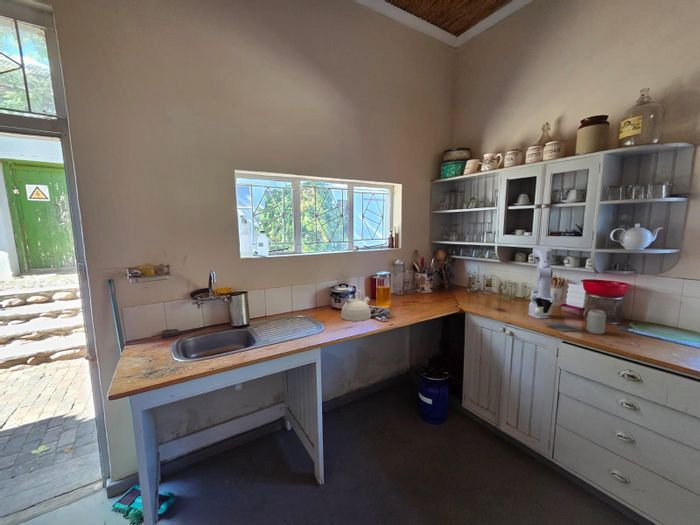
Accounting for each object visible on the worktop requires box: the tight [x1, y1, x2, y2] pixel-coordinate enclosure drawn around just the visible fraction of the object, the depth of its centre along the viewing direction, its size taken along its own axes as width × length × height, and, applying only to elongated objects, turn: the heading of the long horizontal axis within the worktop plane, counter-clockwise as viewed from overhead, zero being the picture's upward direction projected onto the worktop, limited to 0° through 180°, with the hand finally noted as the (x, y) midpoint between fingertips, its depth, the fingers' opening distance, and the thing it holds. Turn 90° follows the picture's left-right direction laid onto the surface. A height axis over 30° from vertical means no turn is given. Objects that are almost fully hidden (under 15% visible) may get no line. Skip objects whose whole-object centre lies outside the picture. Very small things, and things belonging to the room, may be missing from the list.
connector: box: [535, 307, 554, 316], centre depth 163 cm, size 9×3×4 cm, turn 94°
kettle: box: [340, 289, 372, 322], centre depth 189 cm, size 20×21×18 cm
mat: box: [543, 321, 581, 333], centre depth 162 cm, size 14×10×1 cm
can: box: [586, 309, 607, 335], centre depth 152 cm, size 8×8×12 cm
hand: (543, 311), depth 163 cm, fingers closed on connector, 3 cm apart
